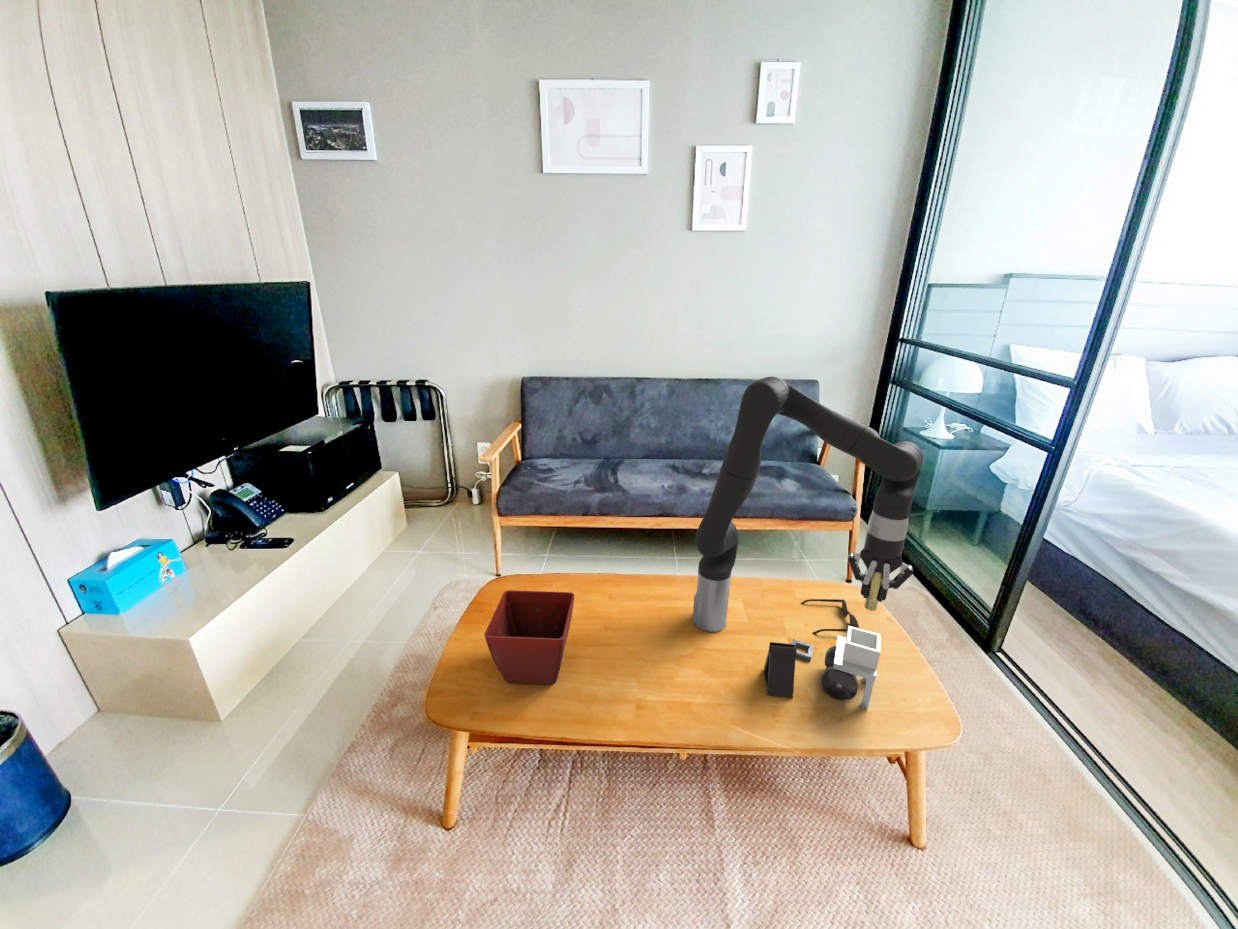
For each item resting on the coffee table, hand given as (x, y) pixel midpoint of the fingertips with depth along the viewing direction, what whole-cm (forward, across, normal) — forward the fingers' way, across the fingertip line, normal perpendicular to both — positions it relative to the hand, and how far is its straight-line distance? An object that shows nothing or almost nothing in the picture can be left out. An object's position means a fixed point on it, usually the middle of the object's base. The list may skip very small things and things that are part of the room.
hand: (872, 598), depth 117 cm
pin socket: (+27, -13, +8) cm, 31 cm away
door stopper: (+27, -17, -6) cm, 33 cm away
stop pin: (+3, 0, 0) cm, 3 cm away
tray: (+17, 0, 0) cm, 17 cm away
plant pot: (+27, -76, -29) cm, 85 cm away
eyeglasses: (+28, -9, +26) cm, 39 cm away
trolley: (+27, -4, 0) cm, 27 cm away
